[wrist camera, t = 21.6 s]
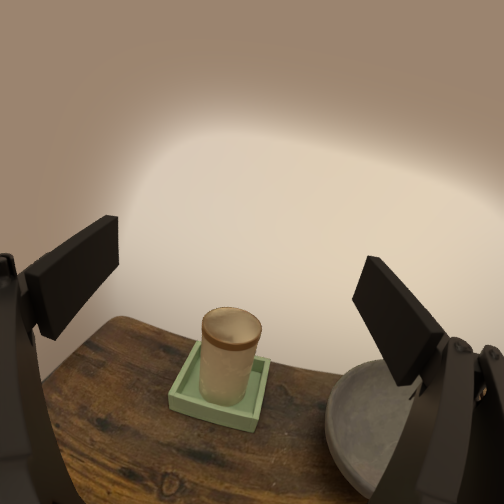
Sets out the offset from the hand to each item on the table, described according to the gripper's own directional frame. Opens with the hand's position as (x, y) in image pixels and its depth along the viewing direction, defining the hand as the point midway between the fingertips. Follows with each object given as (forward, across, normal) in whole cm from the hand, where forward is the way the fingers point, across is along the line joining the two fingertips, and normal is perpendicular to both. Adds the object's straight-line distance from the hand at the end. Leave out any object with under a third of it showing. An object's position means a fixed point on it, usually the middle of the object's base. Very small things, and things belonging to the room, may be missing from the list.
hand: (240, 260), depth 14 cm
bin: (+10, +1, -24) cm, 26 cm away
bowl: (0, +21, -24) cm, 32 cm away
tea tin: (+10, +1, -23) cm, 25 cm away
